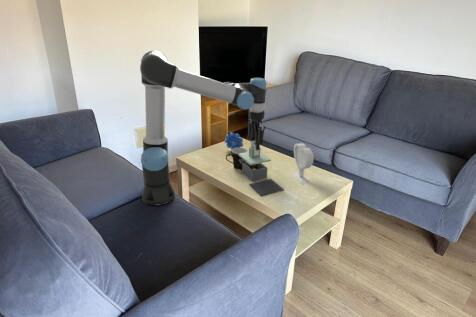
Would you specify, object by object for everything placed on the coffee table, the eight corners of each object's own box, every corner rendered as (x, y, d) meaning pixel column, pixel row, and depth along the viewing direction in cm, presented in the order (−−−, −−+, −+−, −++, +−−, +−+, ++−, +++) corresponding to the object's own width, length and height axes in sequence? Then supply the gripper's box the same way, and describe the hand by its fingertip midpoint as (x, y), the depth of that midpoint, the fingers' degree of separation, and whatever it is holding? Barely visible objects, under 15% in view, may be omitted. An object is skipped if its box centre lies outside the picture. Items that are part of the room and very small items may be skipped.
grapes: (224, 153, 208) (224, 135, 203) (224, 148, 215) (224, 131, 209) (243, 153, 209) (243, 135, 204) (242, 149, 215) (243, 131, 210)
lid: (250, 165, 171) (250, 154, 169) (238, 155, 182) (238, 144, 179) (270, 161, 176) (271, 150, 174) (258, 151, 187) (258, 141, 184)
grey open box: (251, 181, 177) (252, 171, 175) (242, 172, 186) (242, 162, 184) (266, 178, 181) (267, 167, 178) (256, 169, 190) (256, 159, 187)
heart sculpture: (290, 171, 188) (293, 141, 180) (298, 170, 189) (301, 140, 182) (302, 185, 175) (306, 153, 167) (311, 184, 176) (315, 152, 168)
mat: (261, 196, 164) (261, 195, 164) (249, 185, 174) (249, 184, 174) (283, 190, 170) (283, 189, 170) (270, 179, 179) (271, 178, 179)
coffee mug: (247, 164, 196) (248, 148, 191) (246, 171, 188) (246, 154, 184) (227, 162, 197) (227, 146, 192) (225, 169, 189) (225, 153, 185)
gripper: (272, 114, 163) (268, 158, 173) (255, 105, 176) (253, 147, 186) (258, 115, 160) (255, 161, 170) (242, 106, 173) (241, 149, 183)
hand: (254, 153), depth 178 cm, fingers closed on lid, 3 cm apart
